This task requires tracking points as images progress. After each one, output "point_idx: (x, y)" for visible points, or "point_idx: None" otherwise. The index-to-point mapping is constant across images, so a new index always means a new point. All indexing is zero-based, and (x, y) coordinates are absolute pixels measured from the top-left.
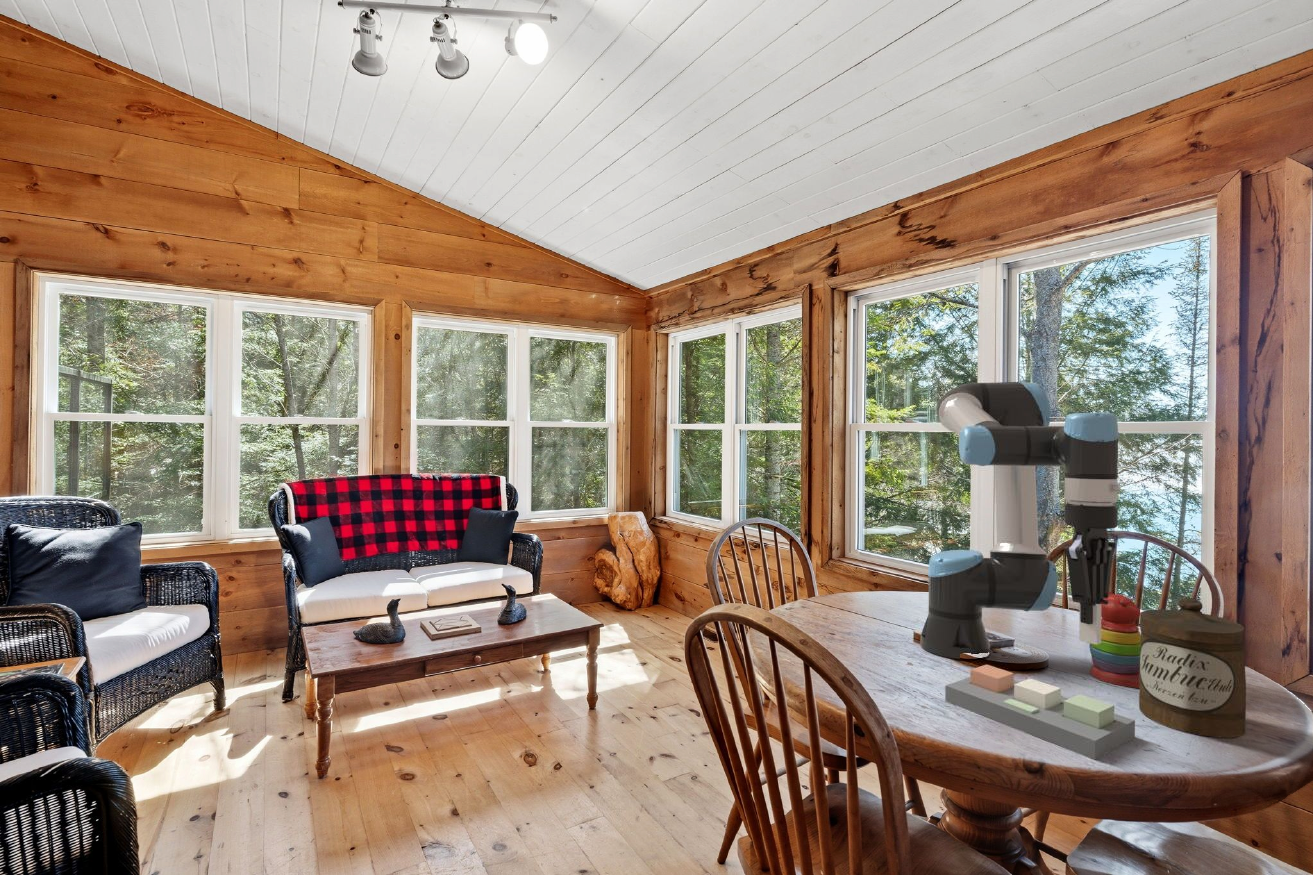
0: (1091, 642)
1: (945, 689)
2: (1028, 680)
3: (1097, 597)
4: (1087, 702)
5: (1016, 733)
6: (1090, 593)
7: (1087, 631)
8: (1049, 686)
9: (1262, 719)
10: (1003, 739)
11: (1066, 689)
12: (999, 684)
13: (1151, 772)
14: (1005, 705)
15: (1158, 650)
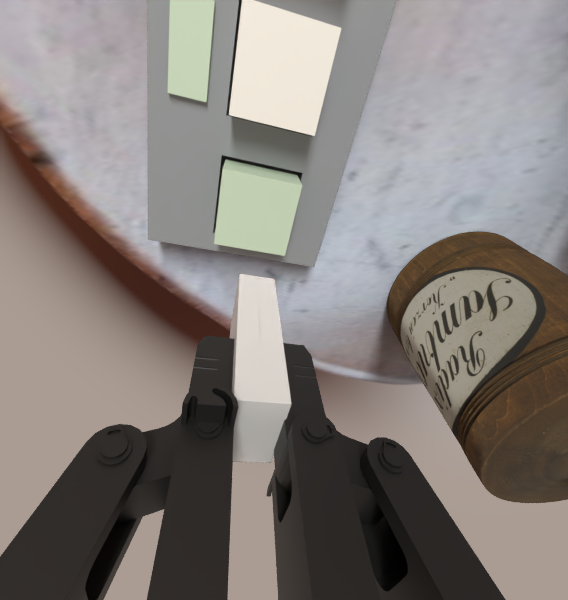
0: (233, 311)
1: None
2: (317, 29)
3: (277, 491)
4: (258, 212)
5: (133, 64)
6: (123, 555)
7: (233, 324)
8: (307, 105)
9: None
10: (68, 48)
11: (519, 83)
12: None
13: (190, 291)
14: (164, 2)
15: (479, 354)
